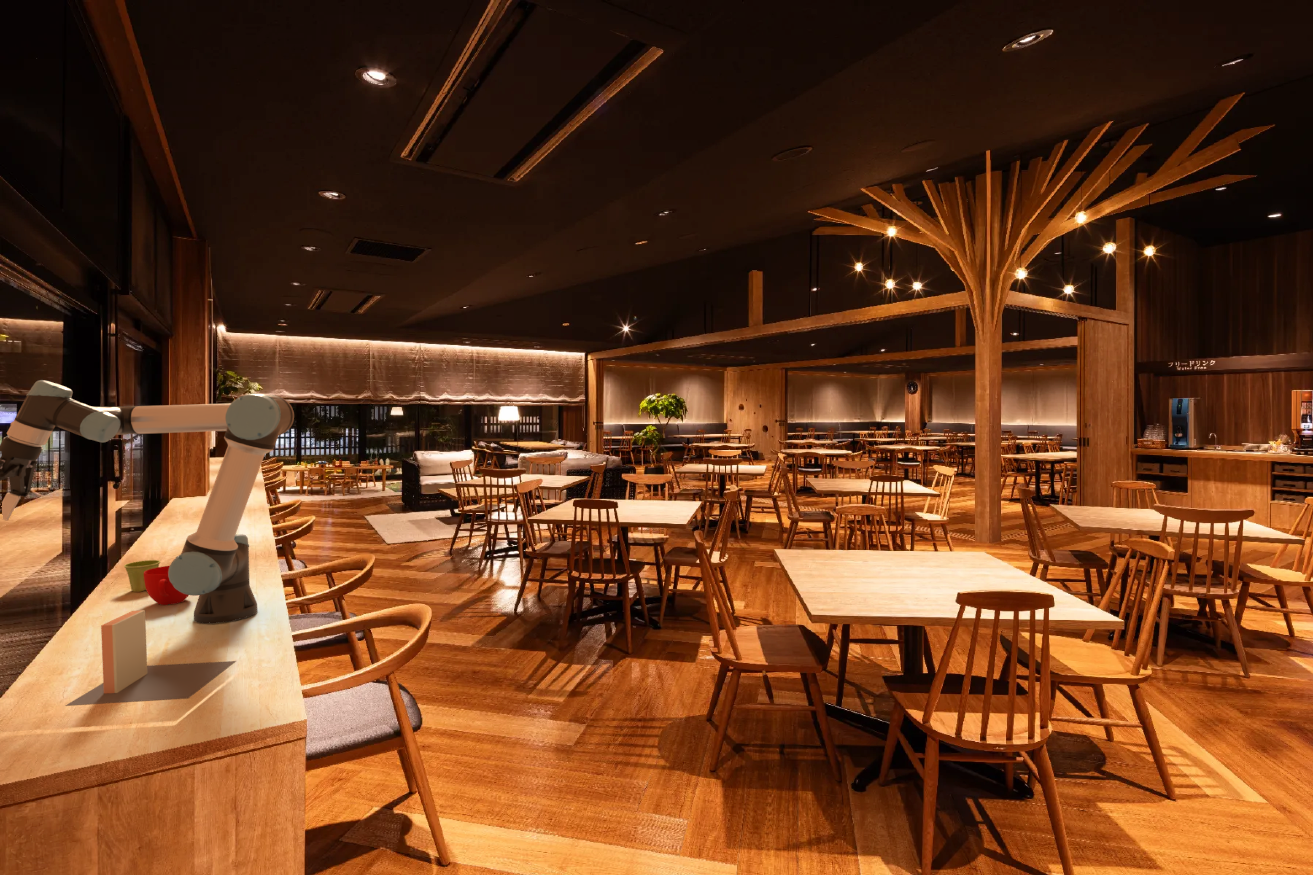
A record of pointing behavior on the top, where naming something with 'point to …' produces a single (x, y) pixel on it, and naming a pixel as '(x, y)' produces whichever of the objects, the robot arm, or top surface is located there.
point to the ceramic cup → (162, 587)
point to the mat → (159, 684)
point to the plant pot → (139, 573)
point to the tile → (124, 651)
